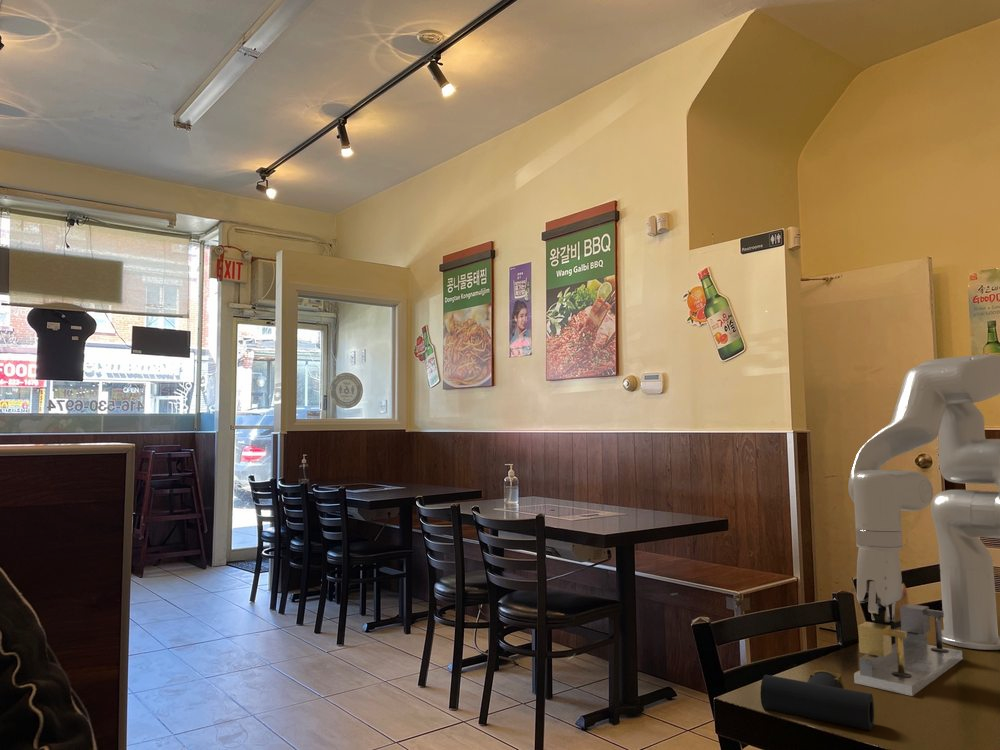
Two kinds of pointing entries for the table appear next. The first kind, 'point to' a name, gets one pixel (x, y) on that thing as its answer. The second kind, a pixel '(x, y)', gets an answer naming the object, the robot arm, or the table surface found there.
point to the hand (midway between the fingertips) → (884, 642)
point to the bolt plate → (907, 666)
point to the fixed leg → (921, 620)
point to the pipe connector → (819, 699)
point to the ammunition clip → (897, 608)
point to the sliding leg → (881, 641)
